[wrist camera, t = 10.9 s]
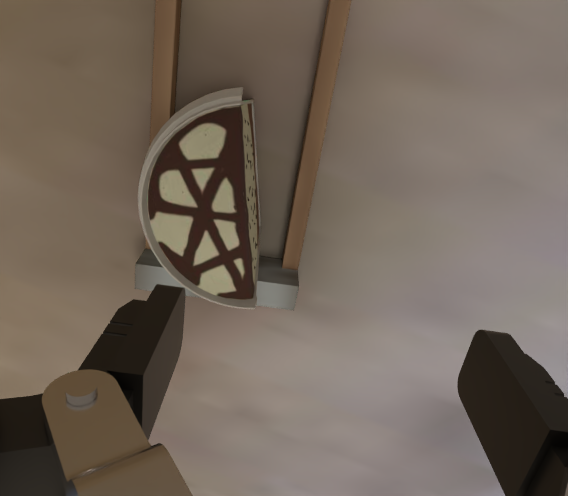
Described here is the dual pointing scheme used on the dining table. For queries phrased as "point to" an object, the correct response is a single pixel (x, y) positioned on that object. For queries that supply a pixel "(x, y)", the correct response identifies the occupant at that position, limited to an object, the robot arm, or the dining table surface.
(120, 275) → the dining table surface
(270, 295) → the guide channel
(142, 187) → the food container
